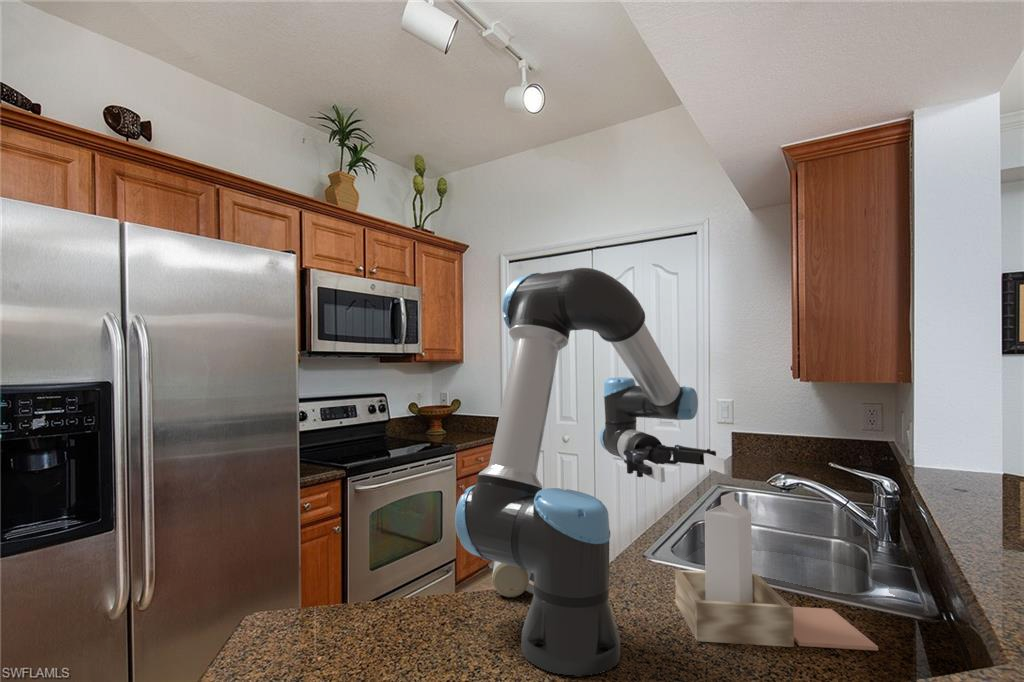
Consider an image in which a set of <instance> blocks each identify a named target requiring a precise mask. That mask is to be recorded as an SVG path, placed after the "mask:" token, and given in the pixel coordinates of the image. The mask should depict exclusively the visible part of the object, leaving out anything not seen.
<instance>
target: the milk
mask: <svg viewBox="0 0 1024 682" xmlns="http://www.w3.org/2000/svg"><path fill="white" fill-rule="evenodd" d="M752 531H753V530H752V512H751V511H749V510H748V509H747V508H746V507H744V506H743V505H741V504H740V503H739V502H737V501H736V499H735V492H734V491H733V492H729V493H727V494H723V495H721V496H720V505H718V506H716V507H714V508H711V509H709V510H706V511H705V512H704V554H705V555H704V560H705V561H704V563H705V566H704V568H705V570H704V571H705V585H706V601H723V602H742V603H753V588H752V574H753V548H752V547H753V545H752V544H753V543H752V542H753V540H752V538H753V537H752V536H753V535H752Z"/></svg>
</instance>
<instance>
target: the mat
mask: <svg viewBox="0 0 1024 682" xmlns="http://www.w3.org/2000/svg"><path fill="white" fill-rule="evenodd" d="M792 607H793V626H794V643H796V644H797V646H799V647H811V648H826V649H827V648H829V649H831V648H832V649H844V650H846V649H847V650H862V651H879V646H878V645H877V644H876V643H874V642H873V641H872V640H870V639H869V637H867V636H865V635H864V634H863V633H862V632H861V631H859V629H857V628H856V627H854V626H853V625H852V624H851V623H850V622H848V620H846V619H845V618H843V617H842V616H841V615H840V614H839V613H837V612H836V611H835V610H834V609H832V608H823V607H807V606H805V607H804V606H792Z"/></svg>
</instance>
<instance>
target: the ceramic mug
mask: <svg viewBox="0 0 1024 682" xmlns="http://www.w3.org/2000/svg"><path fill="white" fill-rule="evenodd" d="M492 568H493V570H492V575H491V576H492V577H491V578H492V584H493V587H494V588H495V590H496V591H497V590H503V591H497V592H498V594H500V595H501V596H503V597H506V598H511V597H512V598H517V597H519V596H520V595H522V594H523V593H524V592H525V591H526V592H528V593H529V594H532V595H533V593H534V584H531V583H530V581H531V582H533V583H534V573H533V572H532V571H529V570H525V569H522V568H518V567H514V566H511V565H507V564H503V563H500V562H496V561H494V564H493V567H492ZM514 588H520V589H514ZM506 589H513V590H506Z"/></svg>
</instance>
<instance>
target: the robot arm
mask: <svg viewBox="0 0 1024 682" xmlns="http://www.w3.org/2000/svg"><path fill="white" fill-rule="evenodd" d="M502 312H503V313H504V314H503V320H504V323H505V325H506V326H507V328H508V329H509V331H508V334H509V336H510V338H511V339H512V341H513V342H514V344H513V351H512V355H511V357H510V358H511V359H510V364H509V369H508V373H507V376H506V377H507V378H506V383H505V388H504V393H503V397H502V401H501V406H500V412H499V416H498V421H497V425H496V430H495V434H494V439H493V445H492V448H491V454H490V458H489V463H488V465H487V466H486V467H485V468H484V469H483V470H481V471H479V473H478V474H477V478H476V484H475V485H472V486H469V487H467V488H466V489H465V490H464V493H463V494H461V496H460V497H459V499H458V501H457V505H456V509H455V512H454V513H455V514H454V515H455V516H454V517H455V518H454V524H455V532H456V535H457V538H458V539H459V541H460V544H461V546H462V547H463V548H464V549H465V550H466V551H467V552H468V553H470V554H472V555H474V556H478V557H480V558H481V559H483V560H485V561H492V562H495V561H496V562H500V563H503V564H507V565H511V566H514V567H518V568H522V569H525V570H529V571H532V572H533V573H534V582H533V586H534V593H533V594H532V595H533V596H532V598H531V602H530V605H529V609H528V610H527V614H526V617H525V620H524V623H523V625H522V626H523V627H522V629H521V639H520V640H521V643H520V649H521V653H522V655H523V656H524V658H525V659H526V660H527V662H529V663H530V662H531V663H530V664H531V665H533V664H534V665H533V666H535V665H536V666H537V667H536V666H535V667H536V668H538V667H539V668H538V669H540V668H541V670H543V669H544V670H543V671H545V670H546V671H545V672H548V671H549V672H548V673H551V672H553V673H552V674H555V673H558V674H557V675H559V674H565V675H574V676H573V677H583V676H582V675H591V674H596V673H600V672H603V671H606V672H608V671H610V670H611V669H610V668H612V667H613V668H614V667H615V666H617V665H618V663H619V661H620V658H621V638H620V634H619V631H618V628H617V627H618V626H617V624H616V620H615V617H614V615H613V611H612V607H611V604H610V598H609V597H610V592H609V591H610V587H609V586H610V539H611V529H610V521H609V520H610V518H609V511H608V508H607V507H606V505H605V504H604V503H603V502H602V501H601V500H600V499H598V498H597V497H595V496H593V495H590V494H588V493H584V492H583V491H582V492H581V491H578V490H572V489H569V488H568V489H563V488H557V487H551V488H550V487H549V488H543V485H542V483H541V482H540V480H539V479H538V477H537V471H538V465H539V462H540V461H539V459H540V455H541V448H542V443H543V438H544V432H545V426H546V422H547V418H548V417H547V416H548V410H549V405H550V400H551V394H552V389H553V384H554V383H553V382H554V377H555V373H556V366H557V360H558V356H559V355H558V354H559V351H561V350H562V349H564V348H565V347H567V345H568V344H569V338H570V334H571V331H582V330H589V331H594V332H596V333H597V334H598V335H599V336H600V338H601V339H602V340H603V341H605V342H607V343H611V345H612V347H613V348H614V349H615V351H616V353H617V354H618V356H619V357H620V358H621V360H622V362H623V364H625V366H626V368H627V369H628V370H629V373H630V374H631V375H632V376H633V377H627V376H626V377H621V376H619V377H610V378H606V380H605V381H604V384H603V386H604V388H603V389H604V390H603V400H604V401H603V402H604V417H605V418H604V419H605V420H604V421H605V422H604V426H603V427H602V429H601V432H600V433H599V442H600V445H601V447H602V448H603V449H604V450H606V451H607V452H608V453H610V454H611V455H613V456H615V457H618V458H621V459H623V463H624V464H626V473H627V474H629V475H632V474H634V472H636V477H637V478H643V477H644V475H645V476H647V477H649V478H651V479H654V480H656V481H657V482H660V483H665V482H666V478H665V477H666V476H665V467H664V466H662V465H664V464H668V465H669V464H670V465H676V464H678V463H679V464H680V463H681V464H682V463H683V464H691V465H700V466H702V465H703V467H705V468H707V469H709V470H712V471H715V472H717V473H720V474H722V475H729V465H728V463H729V462H728V461H729V460H728V459H725V458H723V457H720V456H717V451H716V450H711V449H710V448H707V449H702V448H696V447H689V446H683V445H680V444H676V445H674V446H667V445H665V444H662V442H661V441H660V440H659V439H658V437H656V436H655V435H651V434H649V433H647V432H646V433H645V432H643V431H640V430H637V418H647V419H660V420H661V419H662V420H676V421H681V420H682V421H683V420H685V421H686V420H689V421H691V420H693V419H694V418H695V417H696V415H697V413H698V407H699V400H698V399H699V398H698V393H697V391H696V390H695V388H694V387H690V386H685V385H683V386H680V383H679V382H678V380H677V379H676V377H675V375H674V374H673V372H672V370H671V369H670V366H669V365H668V363H667V361H666V360H665V358H664V356H663V354H662V352H661V351H660V348H659V346H658V345H657V343H656V341H655V340H654V338H653V336H652V334H651V332H650V330H649V329H648V327H647V326H646V323H645V322H646V312H645V310H644V309H643V306H642V305H641V303H640V302H639V300H638V298H637V297H636V296H635V295H634V293H632V292H631V290H629V289H628V288H627V287H626V286H625V285H624V284H623V283H621V281H619V280H617V279H616V278H615V277H613V276H611V274H607V273H606V272H603V271H601V270H599V269H595V268H592V267H591V268H590V267H578V268H577V267H576V268H573V269H565V270H558V271H552V272H551V271H550V272H543V273H541V272H540V273H539V272H536V273H535V272H534V273H530V274H528V275H524V276H520V277H518V278H516V279H514V280H513V281H512V282H511V283H510V284H509V285H508V287H507V289H506V290H505V293H504V295H503V299H502ZM635 381H636V382H635ZM636 383H637V385H636ZM671 458H672V460H671ZM659 464H660V465H659ZM613 668H612V669H613ZM609 669H610V670H609ZM607 670H608V671H607ZM603 673H604V672H603ZM600 674H601V673H600ZM565 675H564V676H565ZM578 675H580V676H578ZM591 676H592V675H591Z"/></svg>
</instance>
